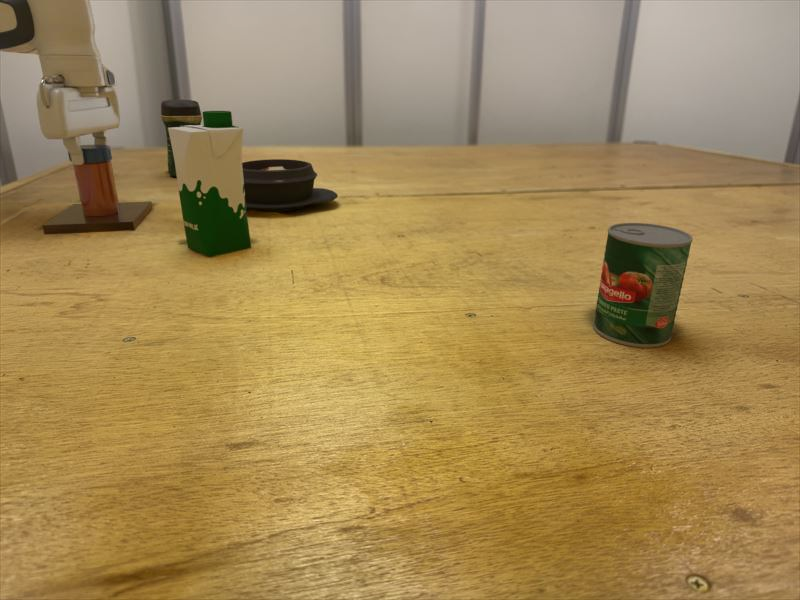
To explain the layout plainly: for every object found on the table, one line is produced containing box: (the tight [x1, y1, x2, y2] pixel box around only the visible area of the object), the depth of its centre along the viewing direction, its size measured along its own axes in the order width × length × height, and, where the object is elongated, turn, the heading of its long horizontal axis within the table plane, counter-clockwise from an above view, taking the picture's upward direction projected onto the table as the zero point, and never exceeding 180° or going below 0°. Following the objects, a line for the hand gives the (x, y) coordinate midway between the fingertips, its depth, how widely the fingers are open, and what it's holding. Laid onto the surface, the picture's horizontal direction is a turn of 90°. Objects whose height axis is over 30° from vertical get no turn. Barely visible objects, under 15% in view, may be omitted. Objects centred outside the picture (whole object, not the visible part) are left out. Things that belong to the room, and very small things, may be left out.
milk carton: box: [168, 110, 252, 258], centre depth 82 cm, size 9×9×20 cm
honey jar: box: [71, 160, 120, 216], centre depth 97 cm, size 6×6×11 cm
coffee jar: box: [160, 99, 203, 178], centre depth 140 cm, size 10×8×19 cm
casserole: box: [242, 158, 339, 213], centre depth 110 cm, size 25×19×8 cm
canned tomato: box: [592, 222, 694, 349], centre depth 57 cm, size 8×8×11 cm
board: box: [41, 200, 153, 235], centre depth 100 cm, size 14×16×2 cm
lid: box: [67, 144, 113, 163], centre depth 96 cm, size 6×6×2 cm
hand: (91, 160), depth 96 cm, fingers closed on lid, 6 cm apart
